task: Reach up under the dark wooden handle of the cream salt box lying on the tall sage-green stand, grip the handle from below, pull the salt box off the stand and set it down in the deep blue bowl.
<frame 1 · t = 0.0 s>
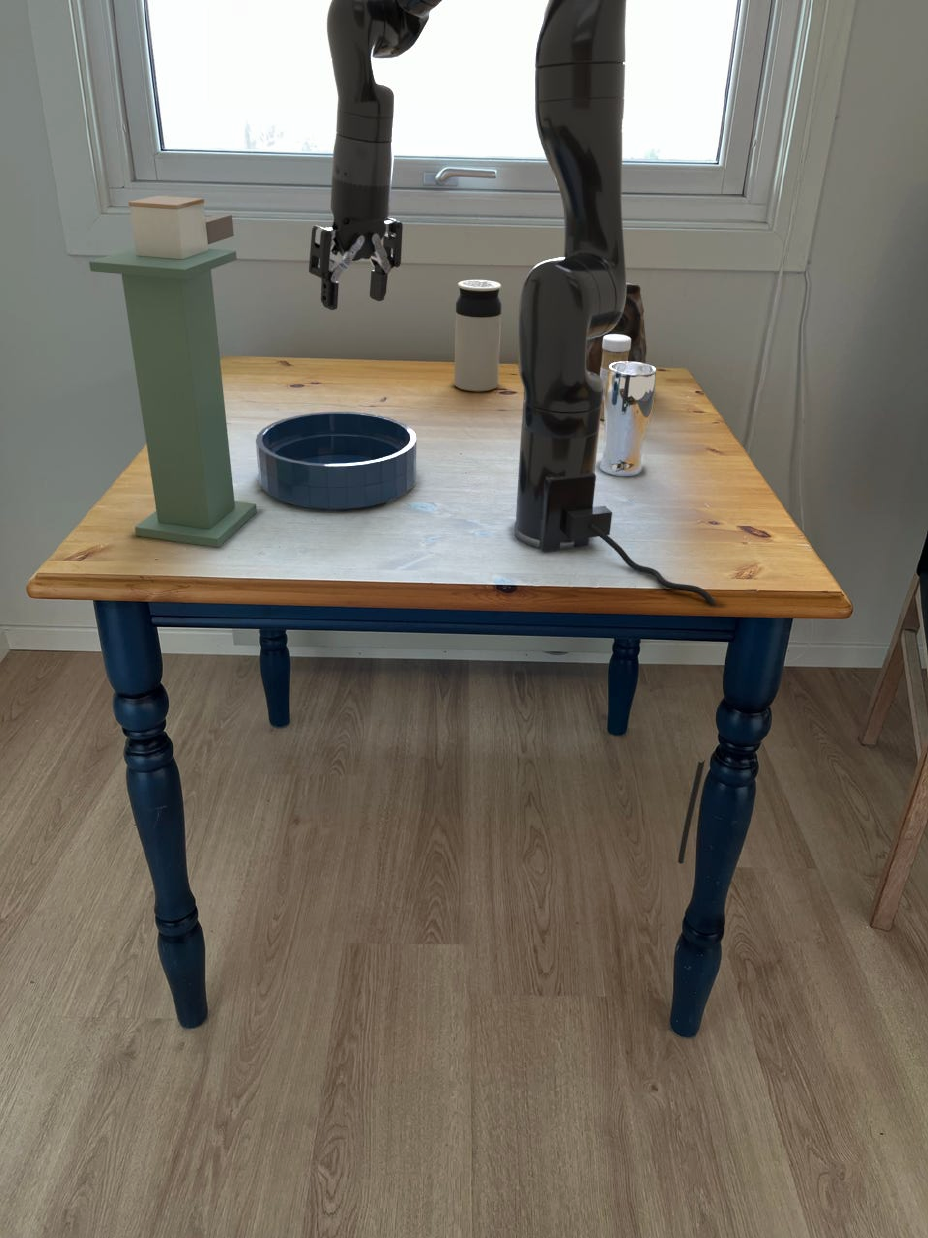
hand: (353, 303, 129), 22 cm above the table, tool pointing down, fingers open, 8 cm apart
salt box: (173, 253, 105), point 32 cm above the table, touching stand
beer glass: (620, 470, 140), on the table
owl: (618, 393, 173), on the table
stand: (198, 523, 120), on the table
travel mug: (475, 387, 174), on the table
bowl: (338, 481, 133), on the table
sprinkles bottle: (608, 418, 161), on the table
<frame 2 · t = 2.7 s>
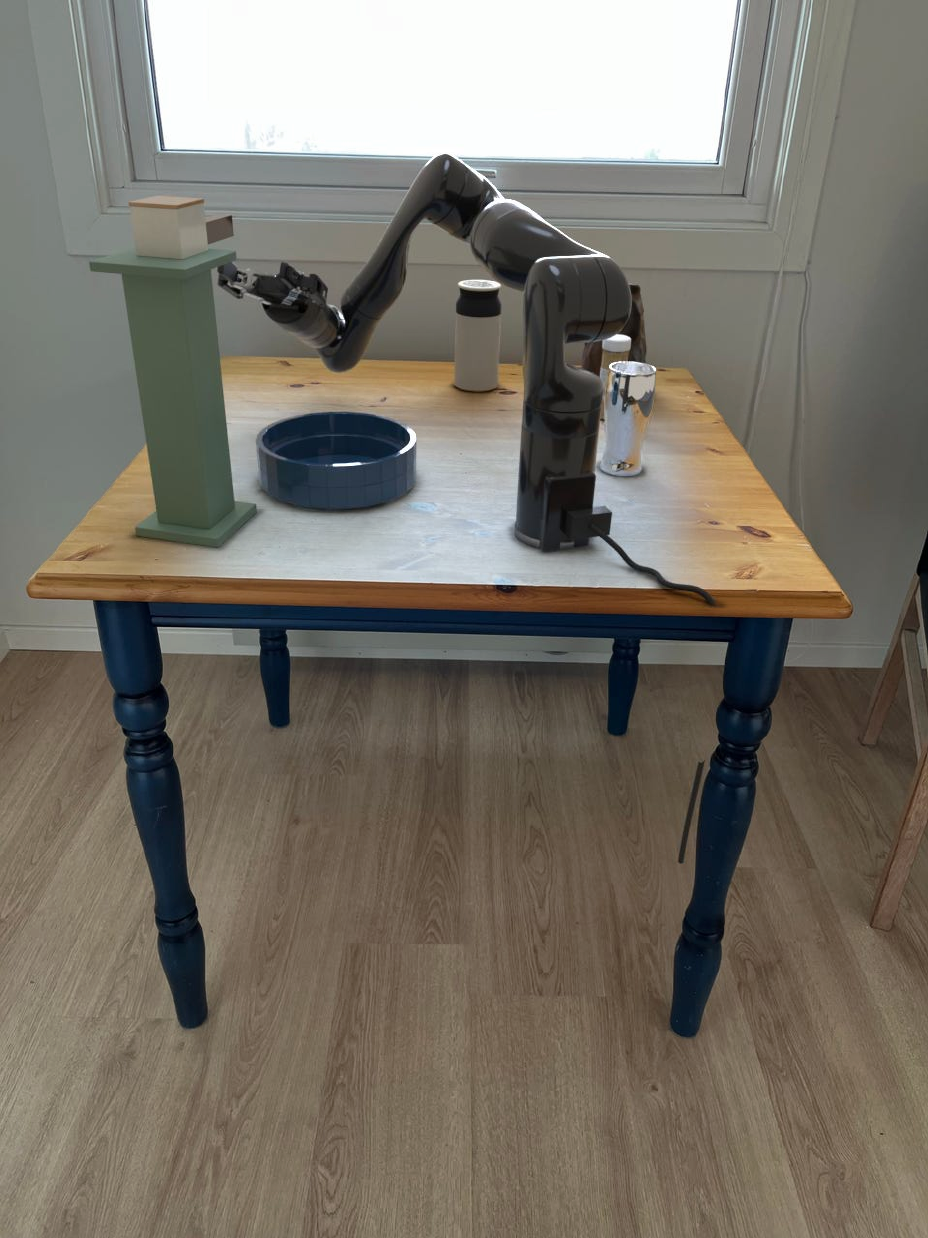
hand: (252, 266, 124), 27 cm above the table, tool pointing upward, fingers open, 8 cm apart
nothing on the table moved.
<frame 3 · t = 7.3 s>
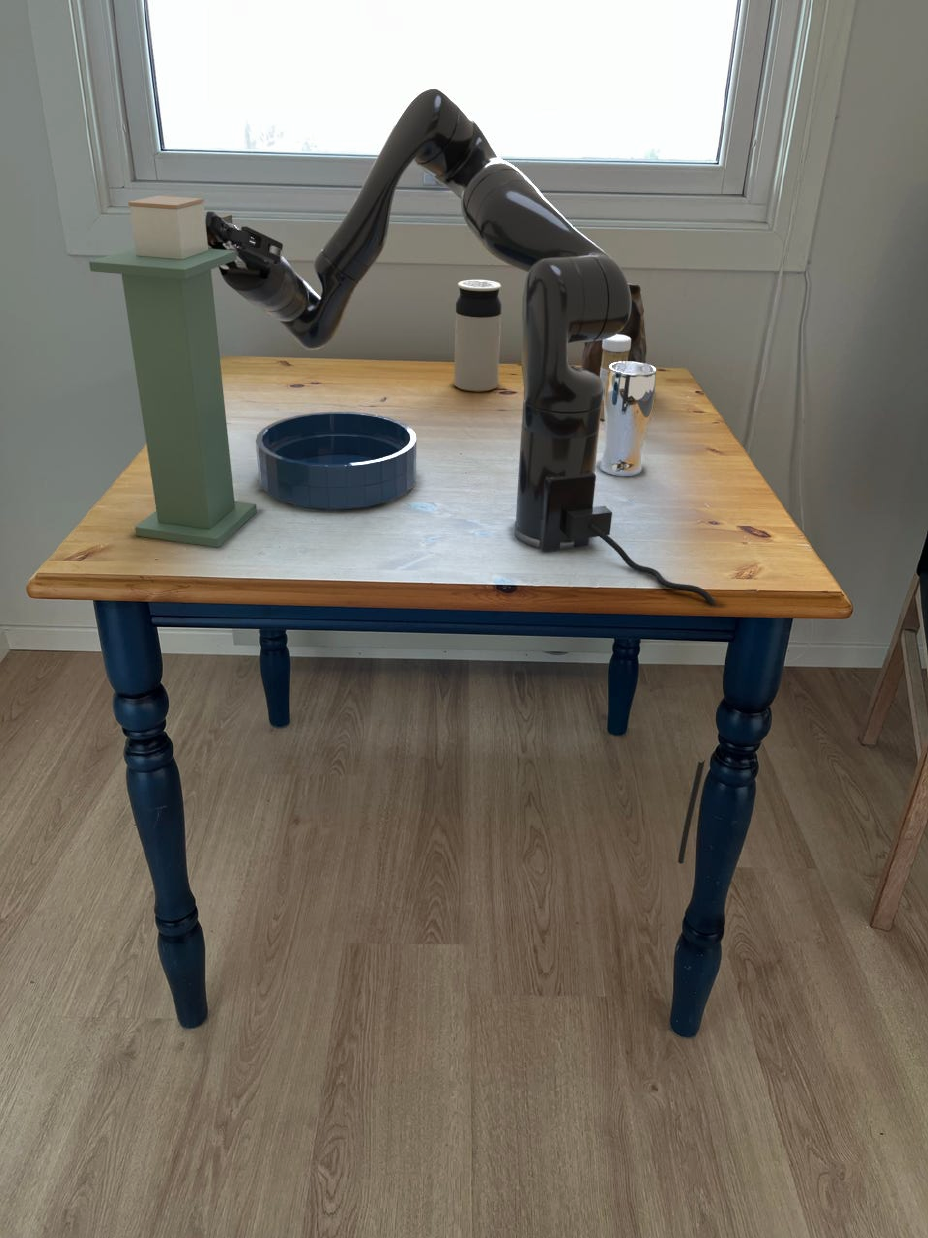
hand: (199, 218, 109), 35 cm above the table, tool pointing upward, fingers closed on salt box
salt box: (173, 253, 105), point 32 cm above the table, touching gripper, stand
everything else where it was.
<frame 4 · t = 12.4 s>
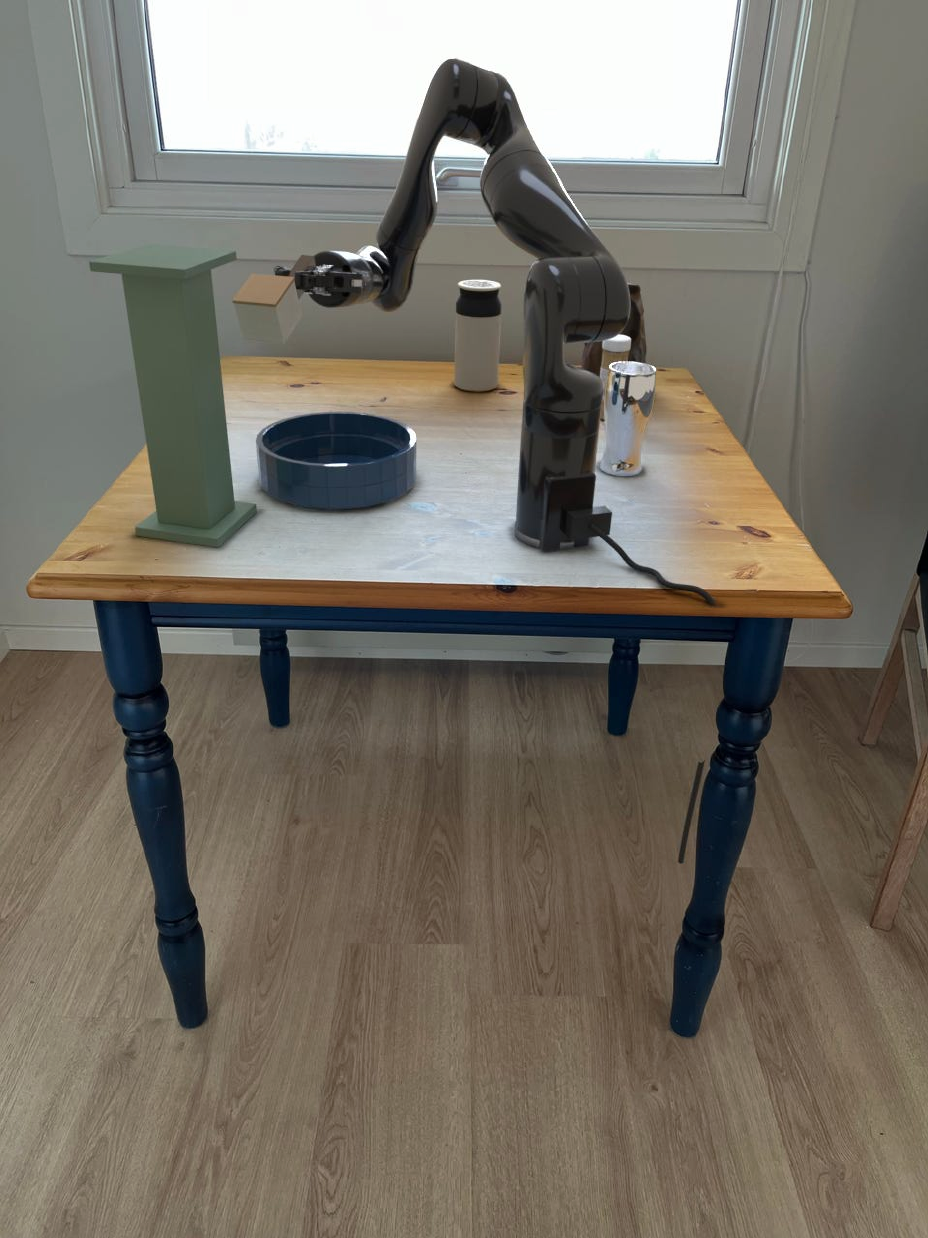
hand: (289, 279, 120), 27 cm above the table, tool horizontal, fingers closed on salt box
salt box: (273, 327, 118), point 22 cm above the table, tilted 20°, touching gripper
everything else where it was.
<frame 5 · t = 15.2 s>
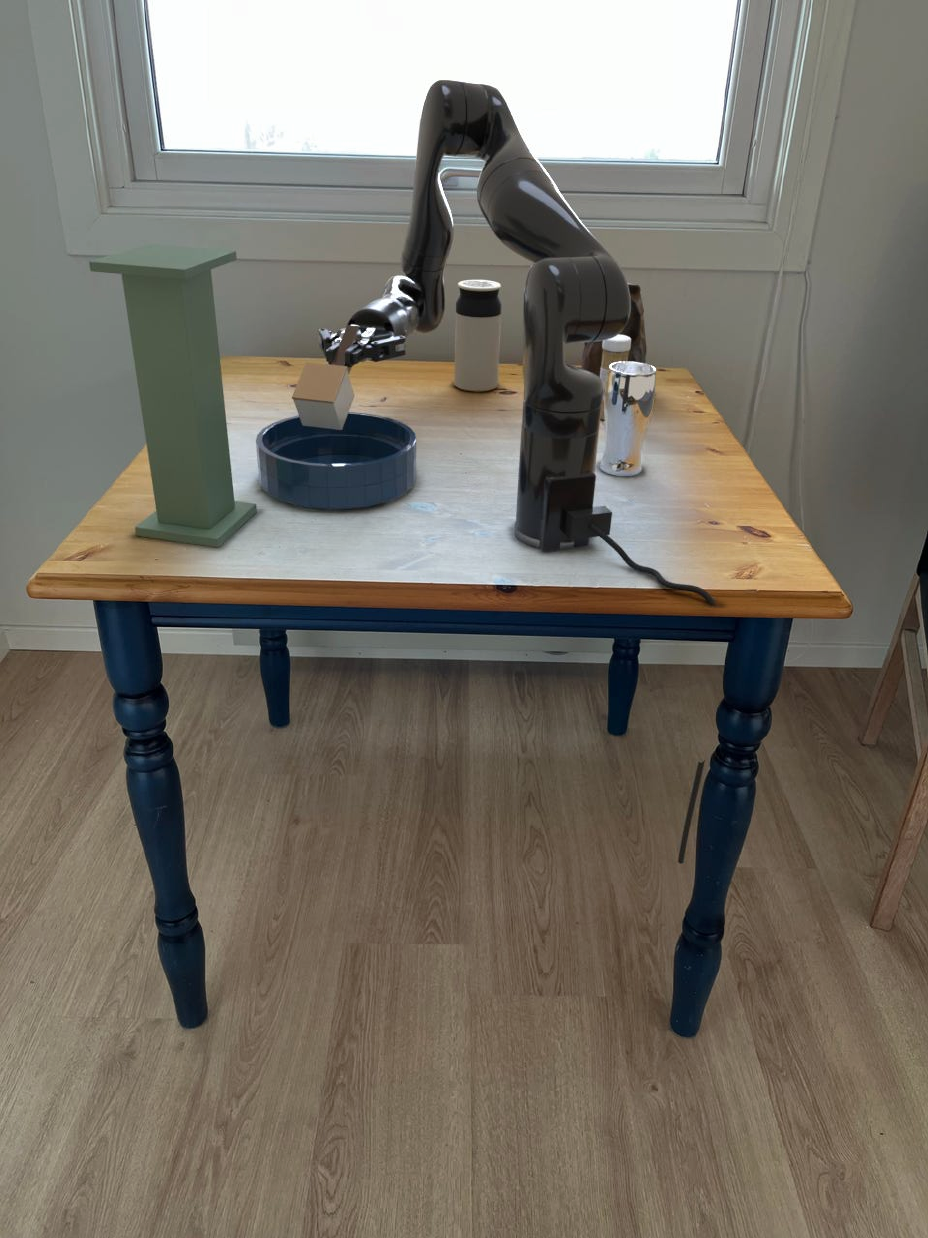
hand: (339, 358, 126), 17 cm above the table, tool horizontal, fingers closed on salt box
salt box: (328, 410, 125), point 11 cm above the table, tilted 30°, touching gripper
everything else where it was.
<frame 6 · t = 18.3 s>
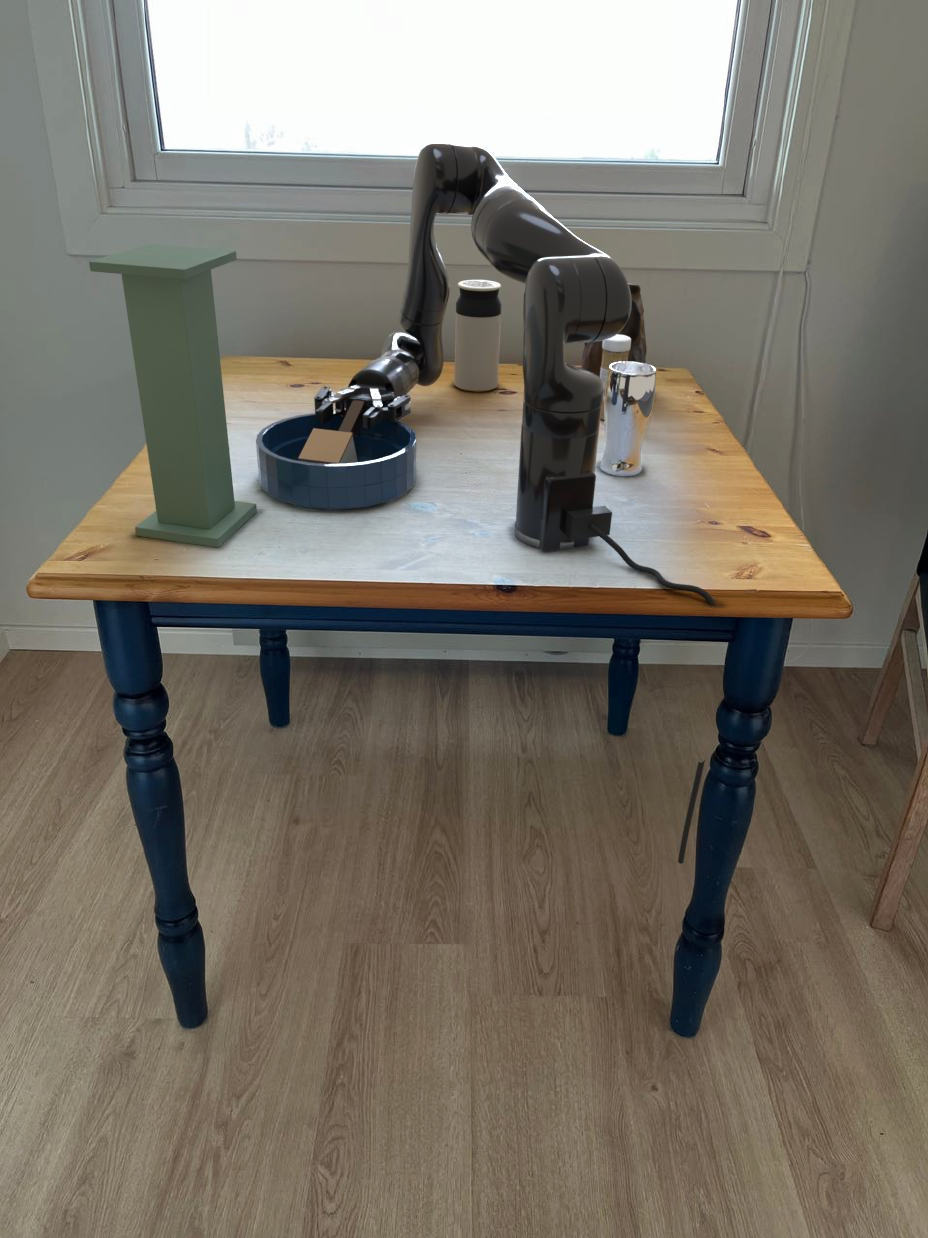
hand: (343, 420, 131), 8 cm above the table, tool horizontal, fingers open, 6 cm apart
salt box: (332, 475, 130), point 2 cm above the table, tilted 22°, touching bowl
everything else where it was.
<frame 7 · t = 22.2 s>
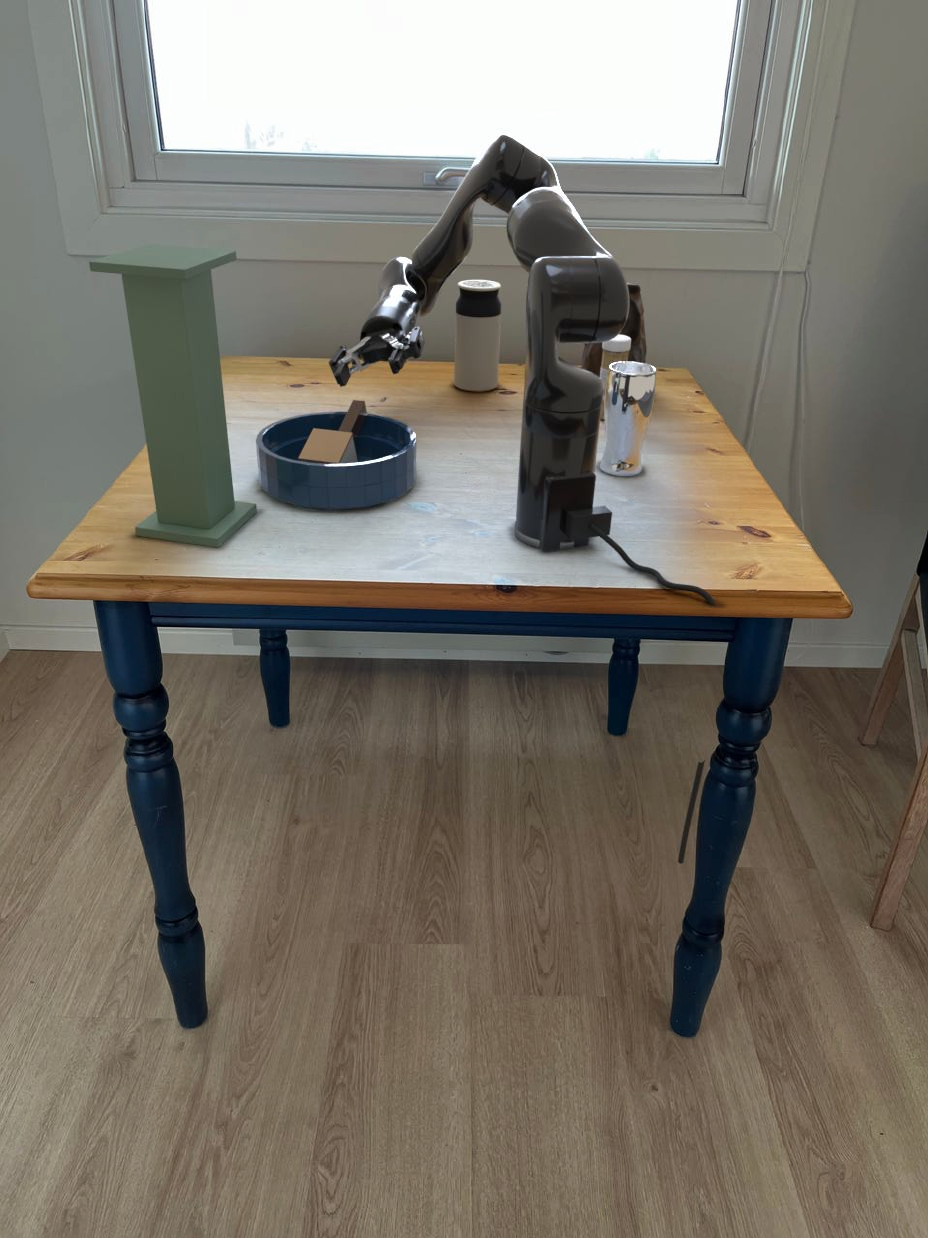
hand: (366, 374, 138), 11 cm above the table, tool horizontal, fingers open, 8 cm apart
nothing on the table moved.
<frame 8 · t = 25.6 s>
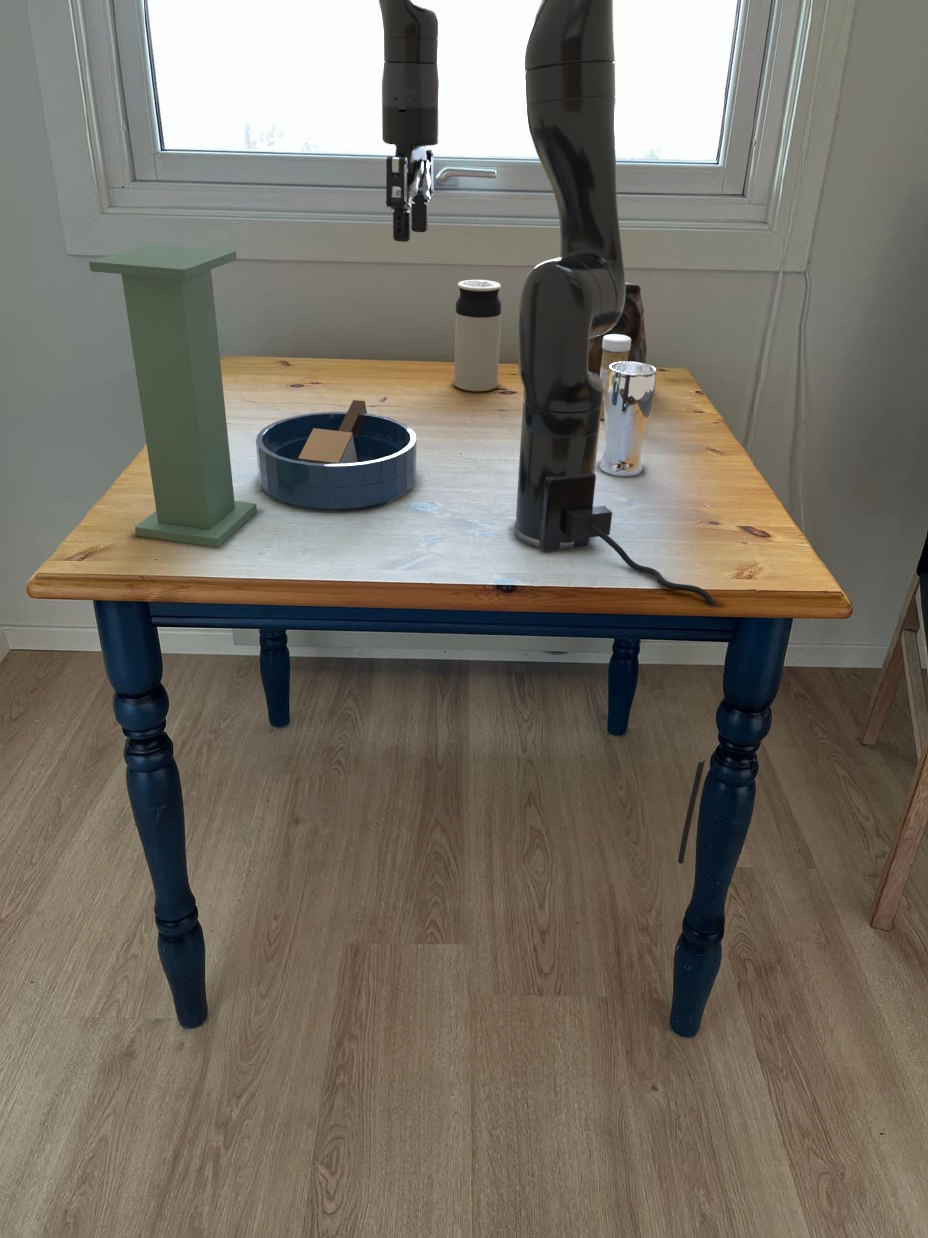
hand: (410, 236, 131), 30 cm above the table, tool pointing down, fingers open, 8 cm apart
nothing on the table moved.
at the end: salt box inside the target area in the bowl (2.2 cm from its centre), point 1.7 cm above the bowl's base; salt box touching bowl; the gripper is holding nothing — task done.
